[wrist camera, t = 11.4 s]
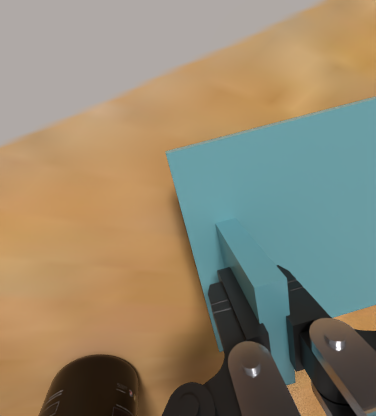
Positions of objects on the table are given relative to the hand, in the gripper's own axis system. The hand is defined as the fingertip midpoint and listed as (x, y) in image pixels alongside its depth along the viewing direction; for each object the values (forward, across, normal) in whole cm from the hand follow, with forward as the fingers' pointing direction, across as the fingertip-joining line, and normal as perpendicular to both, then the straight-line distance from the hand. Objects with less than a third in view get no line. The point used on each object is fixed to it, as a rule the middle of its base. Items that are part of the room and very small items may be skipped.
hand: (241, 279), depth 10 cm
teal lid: (+3, -6, 0) cm, 7 cm away
